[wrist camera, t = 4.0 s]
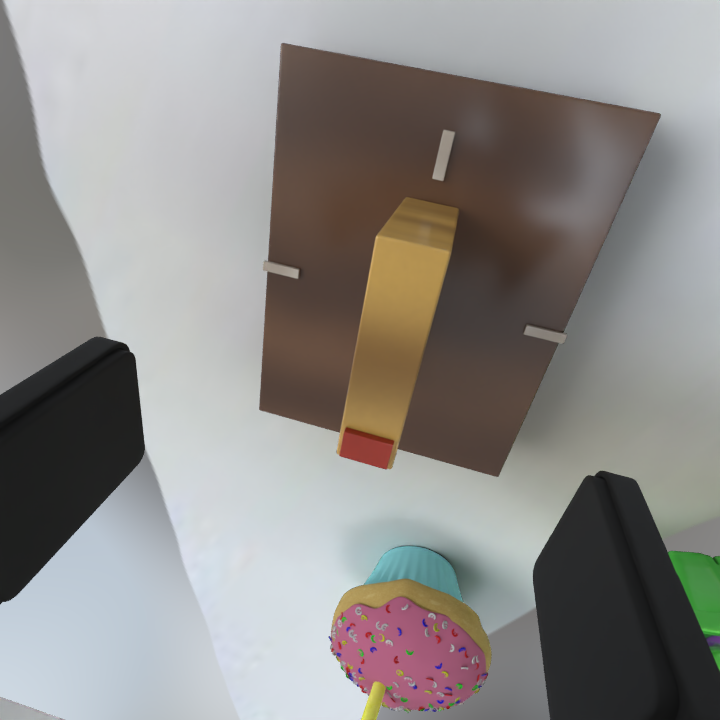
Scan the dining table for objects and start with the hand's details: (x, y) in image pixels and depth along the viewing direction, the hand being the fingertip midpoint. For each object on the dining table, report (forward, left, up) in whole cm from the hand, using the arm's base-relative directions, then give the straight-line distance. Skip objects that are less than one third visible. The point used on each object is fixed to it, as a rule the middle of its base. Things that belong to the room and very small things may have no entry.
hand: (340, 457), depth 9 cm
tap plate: (0, 0, -12) cm, 12 cm away
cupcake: (+19, +1, -12) cm, 22 cm away
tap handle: (0, 0, -9) cm, 9 cm away
